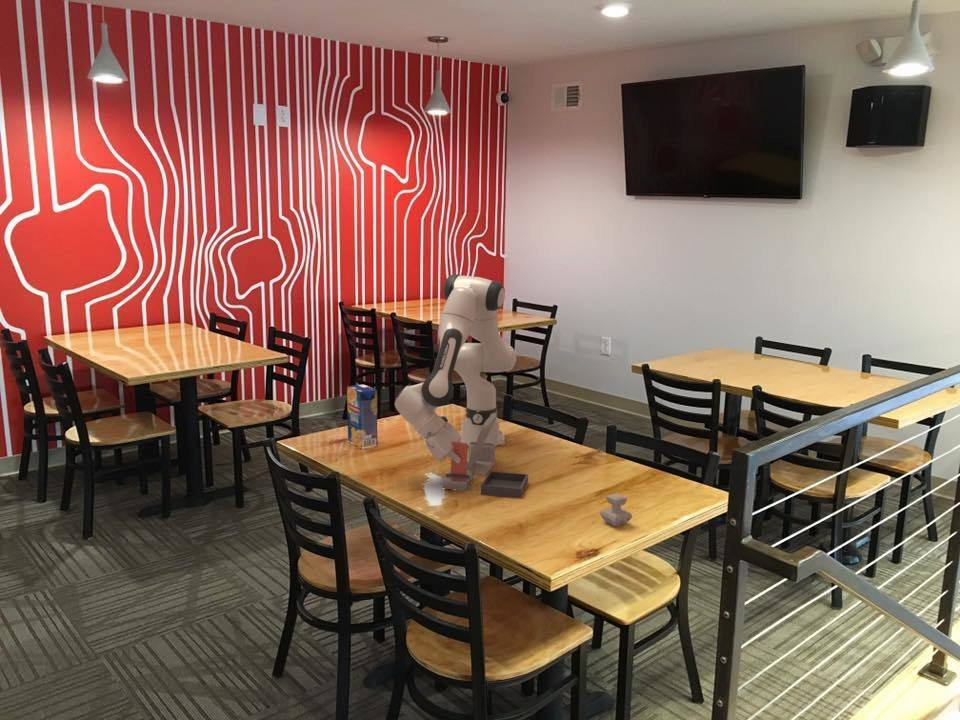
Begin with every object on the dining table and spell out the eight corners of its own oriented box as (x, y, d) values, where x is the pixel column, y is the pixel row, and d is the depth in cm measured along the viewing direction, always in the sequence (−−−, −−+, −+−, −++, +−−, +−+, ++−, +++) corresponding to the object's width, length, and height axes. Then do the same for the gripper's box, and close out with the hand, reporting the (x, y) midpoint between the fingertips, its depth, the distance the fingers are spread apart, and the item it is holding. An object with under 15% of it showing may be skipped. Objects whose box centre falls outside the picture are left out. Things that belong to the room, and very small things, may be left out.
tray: (489, 479, 259) (489, 470, 259) (528, 483, 257) (528, 474, 256) (480, 494, 246) (480, 485, 245) (520, 498, 243) (521, 488, 243)
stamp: (634, 526, 223) (636, 499, 221) (617, 531, 219) (619, 503, 218) (613, 516, 230) (614, 489, 229) (596, 520, 227) (597, 493, 225)
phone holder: (469, 457, 282) (470, 409, 278) (497, 460, 280) (498, 411, 276) (457, 473, 265) (457, 422, 262) (486, 476, 263) (487, 424, 259)
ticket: (452, 482, 256) (452, 441, 254) (466, 483, 255) (467, 442, 252) (451, 483, 255) (451, 443, 252) (465, 485, 254) (466, 444, 251)
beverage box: (363, 439, 302) (363, 384, 298) (377, 446, 293) (377, 389, 289) (348, 442, 298) (347, 386, 294) (361, 449, 289) (360, 392, 285)
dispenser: (451, 476, 262) (451, 466, 261) (474, 478, 260) (475, 468, 259) (442, 488, 250) (442, 478, 249) (466, 491, 248) (466, 480, 248)
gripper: (429, 431, 243) (459, 464, 242) (447, 415, 262) (474, 445, 262) (416, 444, 244) (446, 476, 244) (434, 426, 264) (461, 456, 264)
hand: (461, 460), depth 253 cm, fingers closed on ticket, 1 cm apart
